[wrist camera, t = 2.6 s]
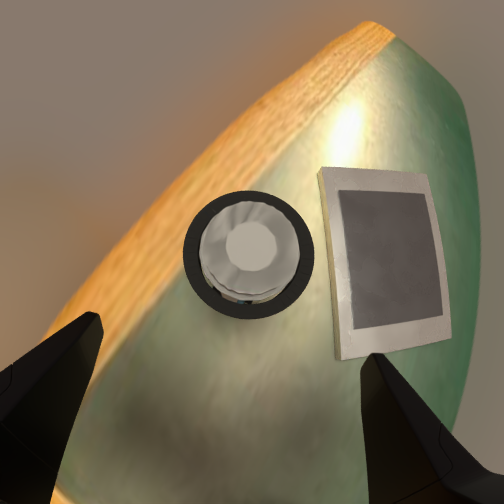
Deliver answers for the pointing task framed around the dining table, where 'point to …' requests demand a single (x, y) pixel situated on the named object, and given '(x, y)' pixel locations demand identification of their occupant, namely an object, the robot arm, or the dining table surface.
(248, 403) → the dining table surface
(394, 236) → the mounting plate
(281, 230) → the push button
